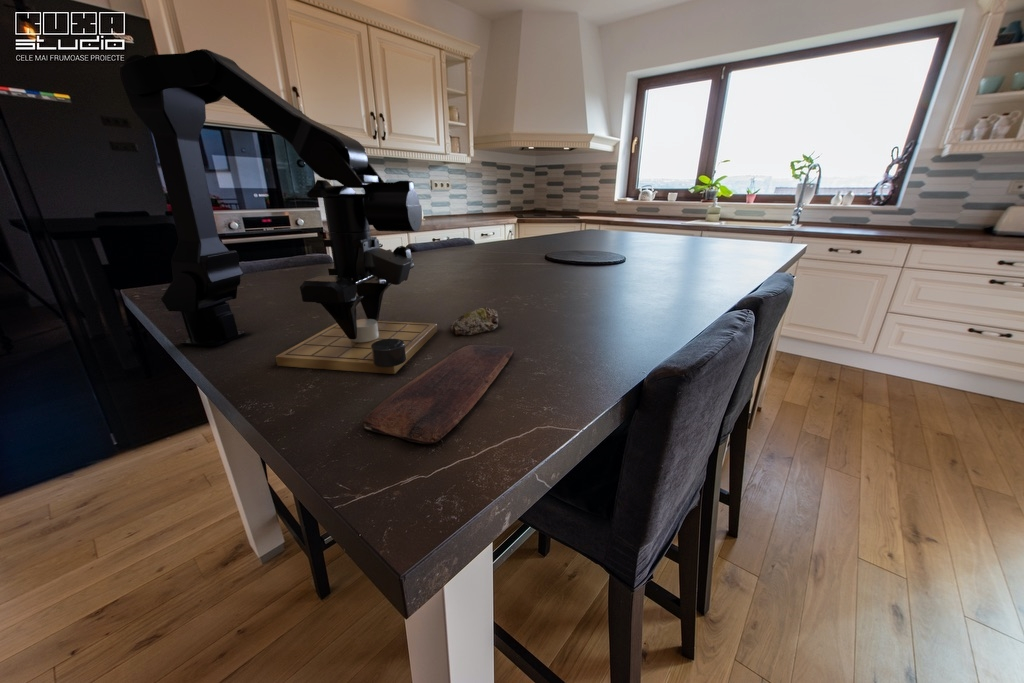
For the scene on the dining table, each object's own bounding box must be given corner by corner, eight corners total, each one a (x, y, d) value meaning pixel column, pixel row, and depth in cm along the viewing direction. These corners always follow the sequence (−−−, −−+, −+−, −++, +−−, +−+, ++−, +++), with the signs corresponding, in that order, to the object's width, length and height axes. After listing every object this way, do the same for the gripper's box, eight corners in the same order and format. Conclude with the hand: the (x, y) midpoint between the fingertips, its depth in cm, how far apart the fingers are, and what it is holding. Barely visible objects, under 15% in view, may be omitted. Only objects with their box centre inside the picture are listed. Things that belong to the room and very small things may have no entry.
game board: (277, 366, 57) (274, 355, 56) (344, 326, 74) (343, 318, 73) (394, 374, 54) (393, 363, 54) (437, 331, 71) (436, 323, 71)
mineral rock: (473, 305, 79) (504, 300, 74) (479, 326, 80) (510, 322, 75) (434, 320, 71) (466, 316, 66) (441, 343, 72) (472, 341, 67)
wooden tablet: (465, 336, 64) (523, 336, 61) (467, 349, 65) (524, 350, 61) (352, 421, 41) (435, 429, 37) (357, 439, 42) (439, 449, 38)
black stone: (367, 366, 53) (365, 349, 52) (382, 353, 57) (380, 337, 56) (398, 368, 53) (396, 351, 52) (411, 355, 57) (409, 339, 56)
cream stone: (344, 341, 62) (342, 326, 61) (359, 332, 66) (357, 318, 65) (371, 343, 61) (368, 328, 60) (383, 333, 65) (382, 319, 64)
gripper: (370, 239, 48) (385, 357, 53) (425, 226, 65) (432, 316, 71) (287, 237, 49) (309, 352, 55) (362, 225, 67) (373, 314, 72)
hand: (363, 331), depth 63 cm, fingers open, 6 cm apart
